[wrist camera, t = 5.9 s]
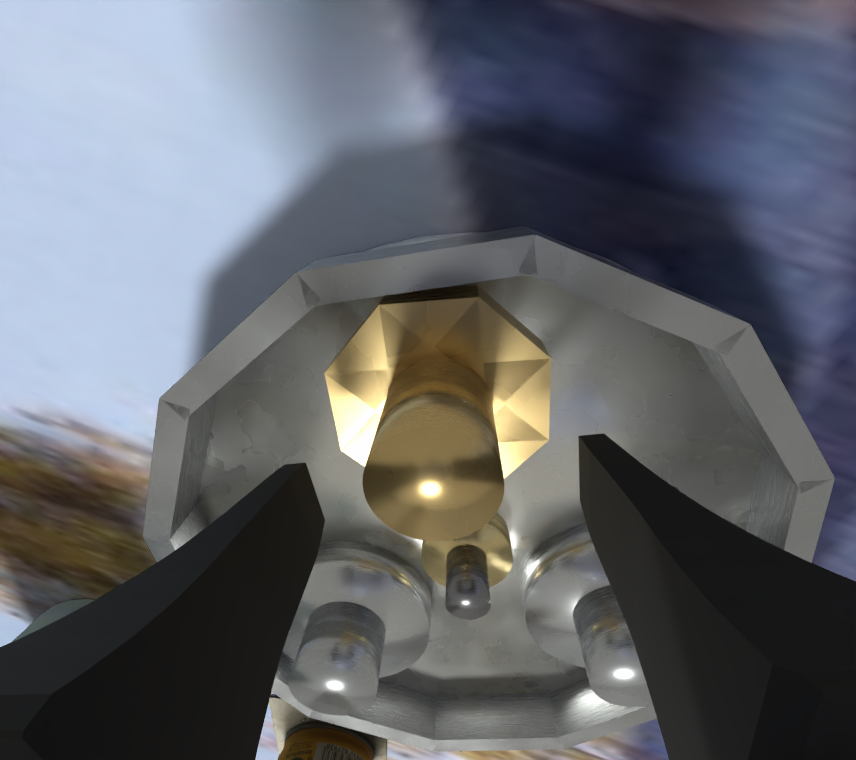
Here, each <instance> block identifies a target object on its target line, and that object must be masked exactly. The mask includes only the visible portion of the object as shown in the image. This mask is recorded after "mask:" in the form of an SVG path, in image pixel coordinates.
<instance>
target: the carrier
mask: <svg viewBox="0 0 856 760" xmlns="http://www.w3.org/2000/svg"><path fill="white" fill-rule="evenodd" d="M469 285H478V286H479V287H480V288H481V289H482V290H484V291H485V292H486V293H487V294H488V295H489V296H490V297H492V298H493V299H494V300H495V301H496V302H497V303H499V304H500V305H501V306H502V307H503V308H504V309H506V310H507V311H508V312H509V313H510V314H511V315H512V316H514V317H515V318H516V319H517V320H518V321H519V322H521V323H522V324H523V325H524V326H525V327H526V328H527V329H529V330H530V331H531V332H532V333H533V334H534V335H536V336H537V337H538V338H539V339H540V340H541V341H542V342H543V344H544V346H545V348H546V350H547V352H548V354H549V356H550V358H551V374H550V417H549V441H548V442H546V443H545V444H544V445H543V446H542V447H541V448H539V449H538V450H537V451H536V452H535V453H534V454H532V455H531V456H530V457H529V458H528V459H527V460H525V461H524V462H523V463H522V464H521V465H520V466H518V467H517V468H516V469H515V470H514V471H513V472H511V473H510V474H509V475H508V476H507V477H506V478H505V479H504V496H503V500H502V503H501V505H500V507H499V509H498V511H497V513H496V514H495V515H494V517H493V518H492V519H491V520H490V521H489V522H488V523H487V524H486V525H485V526H483V527H482V528H480V529H479V530H477V531H475V532H474V533H472V534H469V535H467V536H465V537H461V538H458V539H453V540H448V541H426V540H419V539H415V538H411V537H408V536H405V535H403V534H401V533H398V532H396V531H395V530H393V529H391V528H390V527H388V526H387V525H385V524H384V523H383V522H382V521H381V520H380V519H379V518H378V517H377V516H376V515H375V514H374V513H373V511H372V510H371V508H370V507H369V505H368V503H367V501H366V499H365V495H364V492H363V484H362V482H363V473H364V468H365V466H363V465H362V464H360V463H359V462H357V461H356V460H354V459H353V458H351V457H350V456H349V455H347V454H346V453H344V452H343V451H341V448H340V444H339V439H338V434H337V430H336V425H335V420H334V416H333V411H332V407H331V402H330V397H329V393H328V388H327V383H326V379H325V374H324V373H325V372H326V370H327V368H328V367H329V365H330V364H331V362H332V361H333V359H334V358H335V356H336V355H337V354H338V352H339V351H340V350H341V349H342V347H343V346H344V345H345V344H346V342H347V341H348V340H349V339H350V337H351V336H352V335H353V334H354V332H355V331H356V330H357V328H358V327H359V326H360V325H361V323H362V322H363V321H364V320H365V318H366V317H367V316H368V315H369V313H370V312H371V311H372V310H373V308H374V307H375V306H376V305H377V303H378V302H379V301H380V300H381V298H382V297H383V296H386V295H393V294H399V293H406V292H413V291H420V290H427V289H434V288H444V287H457V286H469ZM602 433H604V434H605V435H606V436H608V437H609V438H610V439H611V440H613V441H614V442H615V443H616V444H618V445H619V446H620V447H621V448H623V449H624V450H625V451H626V452H628V453H629V454H630V455H631V456H633V457H634V458H635V459H636V460H638V461H639V462H640V463H642V464H643V465H644V466H645V467H647V468H648V469H649V470H651V471H652V472H653V473H655V474H656V475H658V476H659V477H660V478H662V479H663V480H664V481H666V482H667V483H669V484H670V485H672V486H673V487H674V488H676V489H677V490H679V491H680V492H682V493H683V494H685V495H686V496H688V497H690V498H691V499H693V500H694V501H696V502H697V503H699V504H700V505H702V506H703V507H705V508H707V509H708V510H710V511H712V512H713V513H715V514H717V515H718V516H720V517H722V518H724V519H726V520H727V521H729V522H731V523H733V524H734V525H736V526H738V527H740V528H742V529H743V530H745V531H747V532H749V533H751V534H753V535H755V536H757V537H759V538H760V539H762V540H764V541H766V542H768V543H770V544H772V545H775V546H777V547H779V548H781V549H783V550H785V551H787V552H789V553H791V554H793V555H795V556H798V557H800V558H802V559H804V560H806V561H808V562H811V563H812V559H813V555H814V552H815V548H816V545H817V541H818V537H819V534H820V530H821V527H822V523H823V519H824V516H825V512H826V509H827V505H828V502H829V498H830V494H831V491H832V487H833V484H834V480H835V479H834V476H833V474H832V472H831V470H830V469H829V467H828V465H827V463H826V461H825V459H824V458H823V456H822V454H821V452H820V450H819V448H818V447H817V445H816V443H815V441H814V439H813V438H812V436H811V434H810V432H809V430H808V428H807V427H806V425H805V423H804V421H803V419H802V417H801V416H800V414H799V412H798V410H797V408H796V406H795V405H794V403H793V401H792V399H791V397H790V395H789V394H788V392H787V390H786V388H785V386H784V384H783V383H782V381H781V379H780V377H779V375H778V373H777V372H776V370H775V368H774V366H773V364H772V362H771V361H770V359H769V357H768V355H767V353H766V351H765V350H764V348H763V346H762V344H761V342H760V340H759V339H758V337H757V335H756V333H755V331H754V329H753V328H752V326H751V325H750V324H749V323H747V322H745V321H743V320H741V319H739V318H737V317H736V316H734V315H732V314H730V313H728V312H726V311H724V310H722V309H720V308H718V307H716V306H714V305H712V304H710V303H708V302H705V301H703V300H701V299H698V298H696V297H694V296H691V295H689V294H686V293H684V292H682V291H679V290H677V289H674V288H672V287H670V286H667V285H665V284H662V283H660V282H658V281H655V280H653V279H650V278H648V277H646V276H643V275H641V274H638V273H636V272H634V271H631V270H629V269H627V268H625V267H623V266H621V265H619V264H618V263H616V262H614V261H612V260H610V259H608V258H606V257H603V256H600V255H597V254H594V253H591V252H588V251H585V250H582V249H579V248H576V247H574V246H572V245H569V244H567V243H564V242H562V241H560V240H557V239H555V238H552V237H550V236H548V235H545V234H543V233H540V232H538V231H536V230H533V229H531V228H528V227H526V226H519V227H513V228H507V229H501V230H494V231H488V232H482V233H480V232H462V233H451V234H441V235H430V236H420V237H416V238H412V239H407V240H403V241H399V242H395V243H390V244H386V245H382V246H377V247H375V248H372V249H369V250H367V251H363V252H357V253H350V254H344V255H338V256H332V257H325V258H319V259H316V260H315V261H313V262H312V263H310V264H308V265H307V266H305V267H304V268H302V269H300V270H299V271H297V272H296V273H295V274H294V275H292V276H291V277H290V278H289V279H288V280H287V281H286V282H285V283H284V284H283V285H282V286H280V287H279V288H278V289H277V290H276V291H275V292H274V293H273V294H272V295H271V296H270V297H269V298H267V299H266V300H265V301H264V302H263V303H262V304H261V305H260V306H259V307H258V308H257V309H256V310H254V311H253V312H252V313H251V314H250V315H249V316H248V317H247V318H246V319H245V320H244V321H243V322H241V323H240V324H239V325H238V326H237V327H236V328H235V329H234V330H233V331H232V332H231V333H230V334H228V335H227V336H226V337H225V338H224V339H223V340H222V341H221V342H220V343H219V344H218V345H217V346H215V347H214V348H213V349H212V350H211V351H210V352H209V353H208V354H207V355H206V356H205V357H204V358H202V359H201V360H200V361H199V362H198V363H197V364H196V365H195V366H194V367H193V368H192V369H191V370H189V371H188V372H187V373H186V374H185V375H184V376H183V377H182V378H181V379H180V380H179V381H178V382H176V383H175V384H174V385H173V386H172V387H171V388H170V389H169V390H168V391H167V392H166V393H165V394H163V395H162V396H161V397H160V399H159V404H158V413H157V421H156V429H155V437H154V446H153V454H152V462H151V471H150V479H149V487H148V495H147V504H146V512H145V520H144V528H143V539H144V540H145V542H146V544H147V546H148V547H149V549H150V551H151V553H152V554H153V556H154V558H155V560H156V561H157V562H159V561H160V560H162V559H163V558H165V557H166V556H168V555H169V554H171V553H172V552H173V551H175V550H176V549H178V548H179V547H181V546H182V545H183V544H185V543H186V542H187V541H189V540H190V539H191V538H193V537H194V536H195V535H197V534H198V533H199V532H201V531H202V530H203V529H204V528H206V527H207V526H208V525H210V524H211V523H212V522H214V521H215V520H216V519H217V518H219V517H220V516H221V515H223V514H224V513H225V512H226V511H228V510H229V509H230V508H231V507H232V506H234V505H235V504H236V503H237V502H238V501H240V500H241V499H242V498H243V497H244V496H246V495H247V494H248V493H249V492H251V491H252V490H253V489H254V488H255V487H257V486H258V485H259V484H260V483H261V482H263V481H264V480H265V479H266V478H267V477H269V476H270V475H271V474H272V473H274V472H275V471H276V470H278V469H279V468H280V467H282V466H283V465H285V464H295V463H306V465H307V468H308V471H309V474H310V477H311V480H312V482H313V485H314V488H315V491H316V494H317V497H318V500H319V503H320V506H321V509H322V512H323V515H324V518H325V524H324V528H323V533H322V538H321V542H320V547H319V551H318V555H317V558H316V561H315V564H314V566H313V569H312V572H311V574H310V577H309V580H308V583H307V585H306V588H305V591H304V593H303V596H302V599H301V601H300V604H299V607H298V609H297V612H296V615H295V617H294V620H293V623H292V625H291V628H290V631H289V633H288V636H287V639H286V642H285V645H284V648H283V651H282V654H281V657H280V661H279V665H278V668H277V672H276V676H275V679H274V683H273V687H272V691H271V692H273V693H274V694H276V695H277V696H279V697H280V698H281V699H283V700H284V701H286V702H287V703H289V704H290V705H292V706H293V707H295V708H296V709H297V710H299V711H300V712H302V713H303V714H305V715H306V716H308V717H310V718H313V719H317V720H321V721H324V722H328V723H331V724H335V725H339V726H342V727H346V728H349V729H353V730H357V731H360V732H364V733H367V734H371V735H375V736H378V737H382V738H386V739H389V740H393V741H396V742H400V743H404V744H407V745H411V746H414V747H418V748H422V749H425V750H429V751H489V750H545V749H566V748H569V747H572V746H575V745H578V744H581V743H584V742H587V741H590V740H593V739H596V738H599V737H602V736H605V735H608V734H611V733H614V732H617V731H620V730H623V729H626V728H629V727H632V726H635V725H638V724H641V723H644V722H647V721H650V720H653V719H656V718H657V716H656V713H655V710H654V706H653V703H652V700H651V696H650V693H649V690H648V686H647V683H646V680H645V677H644V674H643V671H642V667H641V664H640V661H639V658H638V655H637V652H636V648H635V645H634V642H633V639H632V637H631V634H630V631H629V629H628V626H627V623H626V621H625V618H624V616H623V614H622V611H621V609H620V607H619V604H618V602H617V600H616V597H615V595H614V592H613V590H612V588H611V585H610V583H609V581H608V578H607V576H606V574H605V571H604V569H603V566H602V564H601V562H600V559H599V557H598V554H597V552H596V550H595V547H594V545H593V542H592V540H591V537H590V535H589V531H588V528H587V524H586V521H585V517H584V514H583V510H582V506H581V503H580V488H579V439H578V436H582V435H592V434H602Z"/></svg>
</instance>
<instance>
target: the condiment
mask: <svg viewBox="0 0 856 760" xmlns="http://www.w3.org/2000/svg"><path fill="white" fill-rule="evenodd" d="M269 702H270V709H271V717H272V719H273V727H274V731H275V735H276V739H277V746H278V751H279V757H278V760H386V752H387V751H386V748H387V745H386V741H387V739H386V738H382V737H378V736H375V735H371V734H367V733H364V732H360V731H357V730H353V729H349V728H346V727H342V726H339V725H335V724H331V723H328V722H324V721H321V720H317V719H313V718H310V717H308V718H305V717H306V715H305V714H303V713H302V712H300V711H299V710H297V709H296V708H295V707H293V706H292V705H290V704H289V703H287V702H286V701H284V700H283V699H278V698H269ZM302 719H305V721H302Z"/></svg>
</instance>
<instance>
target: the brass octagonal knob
mask: <svg viewBox="0 0 856 760" xmlns="http://www.w3.org/2000/svg"><path fill="white" fill-rule="evenodd" d="M324 374H325V379H326V383H327V388H328V393H329V397H330V402H331V407H332V411H333V416H334V420H335V425H336V430H337V434H338V439H339V444H340V448H341V451H343V452H344V453H346V454H347V455H349V456H350V457H351V458H353V459H354V460H356V461H357V462H359V463H360V464H362V465H363V466H365V468H364V473H363V482H362V484H363V492H364V495H365V499H366V501H367V503H368V505H369V507H370V508H371V510H372V511H373V513H374V514H375V515H376V516H377V517H378V518H379V519H380V520H381V521H382V522H383V523H384V524H385V525H387V526H388V527H390V528H391V529H393V530H395V531H396V532H398V533H401V534H403V535H405V536H408V537H411V538H415V539H419V540H426V541H448V540H453V539H458V538H461V537H465V536H467V535H469V534H472V533H474V532H475V531H477V530H479V529H480V528H482V527H483V526H485V525H486V524H487V523H488V522H489V521H490V520H491V519H492V518H493V517H494V515H495V514H496V513H497V511H498V509H499V507H500V505H501V503H502V500H503V496H504V479H505V478H506V477H507V476H508V475H509V474H510V473H511V472H513V471H514V470H515V469H516V468H517V467H518V466H520V465H521V464H522V463H523V462H524V461H525V460H527V459H528V458H529V457H530V456H531V455H532V454H534V453H535V452H536V451H537V450H538V449H539V448H541V447H542V446H543V445H544V444H545V443H546V442H548V441H549V417H550V374H551V358H550V356H549V354H548V352H547V350H546V348H545V346H544V344H543V342H542V341H541V340H540V339H539V338H538V337H537V336H536V335H534V334H533V333H532V332H531V331H530V330H529V329H527V328H526V327H525V326H524V325H523V324H522V323H521V322H519V321H518V320H517V319H516V318H515V317H514V316H512V315H511V314H510V313H509V312H508V311H507V310H506V309H504V308H503V307H502V306H501V305H500V304H499V303H497V302H496V301H495V300H494V299H493V298H492V297H490V296H489V295H488V294H487V293H486V292H485V291H484V290H482V289H481V288H480V287H479V286H478V285H469V286H457V287H444V288H434V289H427V290H420V291H413V292H406V293H399V294H393V295H386V296H383V297H382V298H381V300H380V301H379V302H378V303H377V305H376V306H375V307H374V308H373V310H372V311H371V312H370V313H369V315H368V316H367V317H366V318H365V320H364V321H363V322H362V323H361V325H360V326H359V327H358V328H357V330H356V331H355V332H354V334H353V335H352V336H351V337H350V339H349V340H348V341H347V342H346V344H345V345H344V346H343V347H342V349H341V350H340V351H339V352H338V354H337V355H336V356H335V358H334V359H333V361H332V362H331V364H330V365H329V367H328V368H327V370H326V372H325V373H324Z"/></svg>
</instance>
